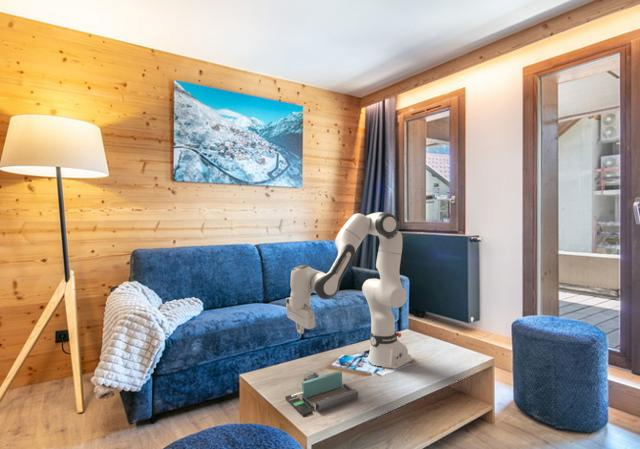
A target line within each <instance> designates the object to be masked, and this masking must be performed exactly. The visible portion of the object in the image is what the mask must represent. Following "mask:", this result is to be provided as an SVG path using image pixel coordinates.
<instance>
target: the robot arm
mask: <svg viewBox="0 0 640 449" xmlns="http://www.w3.org/2000/svg"><path fill="white" fill-rule="evenodd" d="M367 235H371V236H376V237H378V239H379V246H378V251H377V256H376V263H375V267H376V270H377V271H378V273H379V278H368V279H366V280H365V281H364V282H363V284H362V286H361V291H362V294H363V296H364V297H365V299H366V301H367V305H368V308H369V313H370V322H371V324H370V329H371V330H370V334H369V335H370V337H369V340H370V345H369V353H368V357H367V361H368V360H369V361H370V362H371V363H373V364H375V365H378V366H382V367H381V368H387V369H388V368H389V369H395V370H396V369H398V368H400V367H402V366H404V365H405V364H408V363H410V362H412V361H413V360H414V357H413V356H412V355H411V354H409V351H408V348H407V346H406V345H405V343H403V342H401V341H400V340H399V339H398V338H401V337H402V333H400V332H396V331H395V322H396V321H395V314H394V313H393V311H392V310H391V308H392V309H393V308H395V309H396V308H397V309H399V308H401V307H403V305H404V304H405V302H406V300H407V292H406V290H405V288H404V287H403V285H402V281H401V275H400V268H401V260H402V255H403V254H402V252H403V234H402V233H401V232H400V231H399V223H398V220H397V217H396V216H395V215H394V214H392V213H390V212H381V211H378V212H369V213H367V214H366V215H365V214H362V213H358V212H357V213H354V214H352V216H350V218H349V219H348V220H347V221H346V222H345V224H343V226H342V227H341V228H340V230H339V231H338V233H337V235H336V237H335V240H334V244H335V247H336V249H337V256H336V259H335V261H334V262H333V263H332V266H331V268H330V269H329V271H328V272H327V273H325V272H324V271H320V270H318V269H314V268H313V267H311V266H309V265H308V264H299V265H296V266H294V267H293V268H292V270H291V272H290V282H289V283H290V285H289V287H290V289H291V290H290V297H286V298H285V303H286V304H285V308H286V309H285V310H286V311H285V312H286V317H287V318H288V319H290V320H291V321H293V322H295V327H296V332H297V333H299V334H300V335H303V334H304V333H305V329H306V330H312V329H315V327H316V315H315V312H314V310H313V308H312V306H311V300H312V299H311V294H313V293H314V294H316V295H317V296H318V297H319V298H321V299H322V300H330V299H333V298H334V297H336V296H337V294H338V293H339V290H340V285H341V283H342V280H343V277H344V276H345V274H346V272H347V271H348V268H349V267H350V265H351V264H352V262H353V260H354V258H355V254H356V252H357V249H358V248H359V246H361V243H362V242H363V240H364V239H365V237H366V236H367Z"/></svg>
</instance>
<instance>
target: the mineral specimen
mask: <svg viewBox="0 0 640 449" xmlns="http://www.w3.org/2000/svg"><path fill="white" fill-rule="evenodd" d="M317 377H320V376H319V375H318V373H317V372H316V371H313V370H307V371H306V373H305V374H304V375H303V381H302V382H304V381H307V380H310V379H314V378H317Z"/></svg>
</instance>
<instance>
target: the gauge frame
mask: <svg viewBox="0 0 640 449" xmlns="http://www.w3.org/2000/svg"><path fill="white" fill-rule="evenodd" d="M342 387H343V389H345V390H346V391H345V392H341V393H339V394H336V395H332V396H330V397H329V396H328V397H327V398H324V399H321V400H318V401H315V405H314V404H313V403H312V402H311V401H310V400H308V398H305V397H302V396H301V398H300V397H299V395H298V396H295V397H291V395H293V394H294V393H292V394H288V395H286V396H285V400H286V401H287V402H288V403H289V404H290V405H291V406H292V407H293V409H294V410H296V411H297V412H298V414H300V415H301V416H302V417H306V416H309V415H311V414H312V415H313V414H314V411H316V412H317V413H318V414H320V413H323V412H327V411H329V410H332V409H335V408H338V407H340V406H342V405H343V406H344V405H345V404H349V403H352V402H354V401H357V400H359V391H358V390H357V389H355V388H352V387H351V386H350V385H348V384H346V383H342Z"/></svg>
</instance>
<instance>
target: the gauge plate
mask: <svg viewBox="0 0 640 449" xmlns="http://www.w3.org/2000/svg"><path fill="white" fill-rule="evenodd" d="M342 387H343V372H342V371H341V370H338V371H336V372H332V373H331V372H330V373H327V374H325V375H322V376H319V377H317V378H314V379H310V380H307V381H301V392H297V393H292V394H293V395H292V394H290V395H291V397H295V396H298V397H299V396H300V395H301V398H302V397H305V398H306V399H308V398H311V397H313V396H316V395H319V394H320V395H321V394H323V393H326V392H329V391H333V390H335V389H338V388H342Z"/></svg>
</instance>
